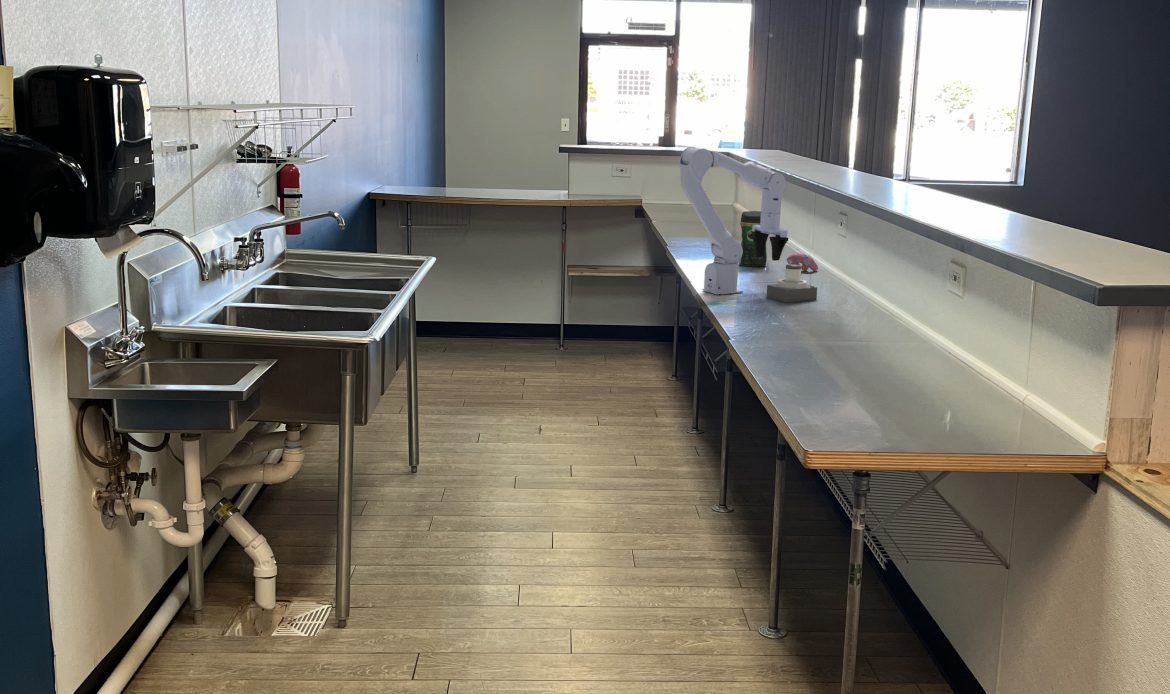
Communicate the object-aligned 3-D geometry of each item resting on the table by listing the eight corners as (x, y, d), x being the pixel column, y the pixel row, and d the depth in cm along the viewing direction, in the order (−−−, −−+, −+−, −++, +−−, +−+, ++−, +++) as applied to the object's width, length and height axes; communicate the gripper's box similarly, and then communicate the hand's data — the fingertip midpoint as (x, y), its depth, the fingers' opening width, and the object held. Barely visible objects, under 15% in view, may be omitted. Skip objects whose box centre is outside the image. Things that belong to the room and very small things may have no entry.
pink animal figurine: (787, 273, 350) (783, 255, 346) (794, 265, 352) (790, 248, 348) (812, 277, 343) (809, 259, 339) (819, 269, 345) (816, 252, 342)
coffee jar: (765, 263, 358) (769, 210, 354) (766, 267, 350) (770, 212, 346) (737, 262, 359) (740, 209, 355) (738, 266, 351) (741, 212, 347)
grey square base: (786, 302, 292) (787, 285, 291) (766, 296, 300) (767, 279, 298) (816, 299, 297) (817, 282, 296) (796, 293, 305) (797, 277, 304)
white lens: (791, 287, 295) (792, 267, 293) (781, 285, 298) (782, 264, 297) (803, 286, 297) (804, 266, 295) (793, 284, 300) (794, 263, 299)
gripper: (797, 215, 300) (794, 261, 303) (766, 209, 312) (764, 254, 316) (777, 215, 297) (774, 262, 300) (747, 210, 309) (745, 255, 313)
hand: (767, 258), depth 308 cm, fingers open, 7 cm apart
